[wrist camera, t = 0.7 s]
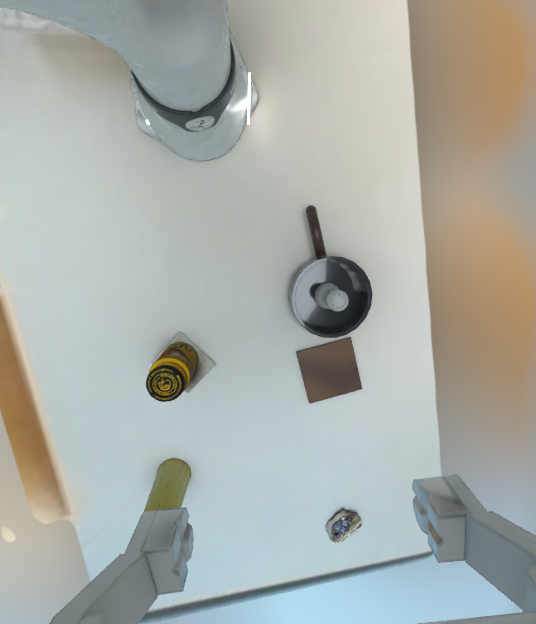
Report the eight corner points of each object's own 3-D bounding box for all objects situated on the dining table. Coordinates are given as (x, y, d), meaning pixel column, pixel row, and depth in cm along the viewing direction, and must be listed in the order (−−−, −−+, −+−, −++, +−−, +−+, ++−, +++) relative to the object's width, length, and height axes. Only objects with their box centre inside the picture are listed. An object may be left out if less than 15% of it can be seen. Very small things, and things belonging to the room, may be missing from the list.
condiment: (179, 331, 56) (162, 351, 44) (216, 363, 58) (209, 391, 46) (151, 361, 57) (126, 389, 45) (188, 392, 58) (173, 427, 46)
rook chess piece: (310, 303, 57) (320, 311, 49) (319, 279, 56) (331, 282, 48) (333, 311, 57) (348, 320, 49) (342, 287, 57) (358, 292, 49)
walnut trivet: (296, 351, 58) (296, 352, 58) (349, 337, 59) (350, 337, 58) (308, 402, 60) (309, 403, 60) (361, 387, 60) (362, 389, 60)
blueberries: (365, 512, 65) (369, 520, 63) (350, 546, 66) (354, 554, 64) (334, 504, 64) (337, 511, 62) (320, 538, 65) (322, 547, 63)
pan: (280, 267, 56) (283, 268, 52) (354, 248, 56) (363, 247, 52) (298, 340, 58) (302, 346, 54) (369, 321, 58) (378, 325, 54)
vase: (191, 487, 61) (175, 556, 47) (157, 488, 61) (132, 558, 47) (190, 458, 60) (174, 519, 46) (156, 458, 60) (130, 520, 46)
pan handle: (304, 207, 52) (306, 206, 50) (313, 205, 52) (316, 203, 50) (316, 261, 54) (318, 261, 52) (325, 259, 54) (328, 259, 52)
